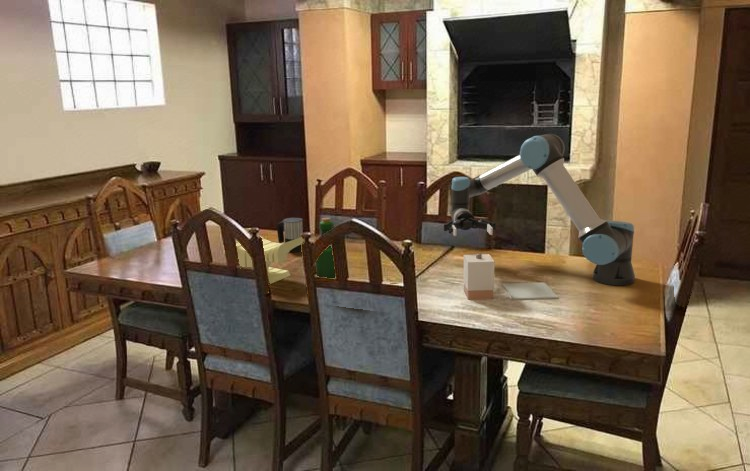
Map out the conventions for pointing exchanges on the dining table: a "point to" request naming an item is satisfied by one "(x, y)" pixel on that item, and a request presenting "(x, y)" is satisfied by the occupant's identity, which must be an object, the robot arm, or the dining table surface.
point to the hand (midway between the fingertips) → (473, 232)
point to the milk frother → (290, 231)
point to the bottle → (325, 253)
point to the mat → (529, 291)
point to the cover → (478, 272)
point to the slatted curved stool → (269, 256)
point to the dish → (478, 294)
